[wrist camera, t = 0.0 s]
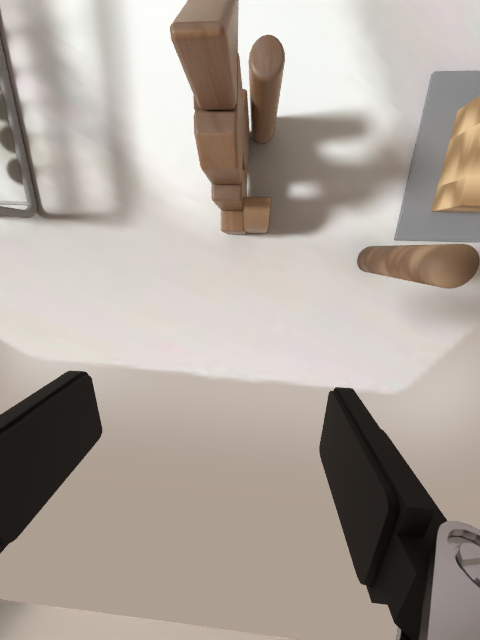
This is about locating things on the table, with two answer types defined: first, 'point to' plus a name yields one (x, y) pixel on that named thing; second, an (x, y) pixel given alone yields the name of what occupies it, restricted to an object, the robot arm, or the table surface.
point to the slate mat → (437, 164)
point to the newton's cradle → (16, 146)
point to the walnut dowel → (422, 263)
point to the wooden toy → (228, 104)
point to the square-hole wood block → (461, 164)
